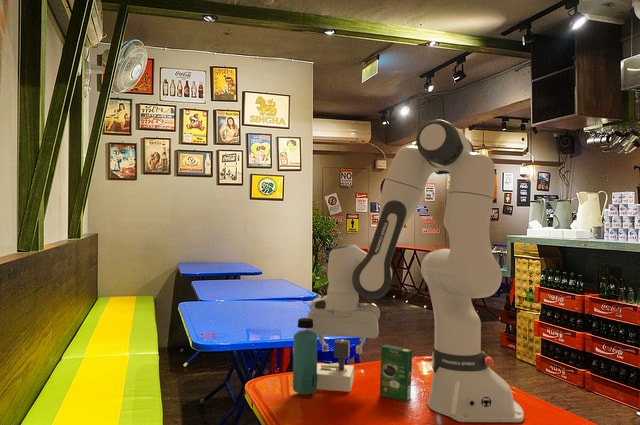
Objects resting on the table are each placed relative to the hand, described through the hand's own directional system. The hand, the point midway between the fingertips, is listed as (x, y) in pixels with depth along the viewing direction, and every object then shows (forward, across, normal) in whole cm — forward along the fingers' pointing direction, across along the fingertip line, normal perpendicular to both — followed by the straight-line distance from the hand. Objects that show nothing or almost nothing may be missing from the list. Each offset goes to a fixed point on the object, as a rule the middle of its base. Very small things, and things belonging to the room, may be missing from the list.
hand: (341, 351), depth 133 cm
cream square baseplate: (+9, +3, 0) cm, 10 cm away
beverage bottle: (+9, +8, +10) cm, 16 cm away
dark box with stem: (+5, +2, 0) cm, 5 cm away
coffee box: (+9, -15, +7) cm, 19 cm away
